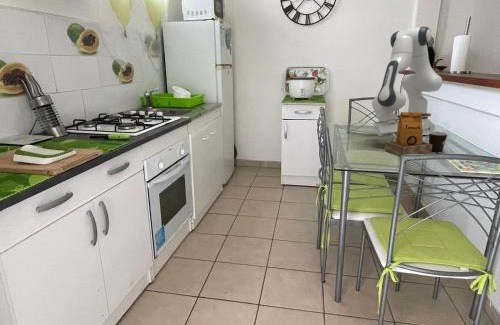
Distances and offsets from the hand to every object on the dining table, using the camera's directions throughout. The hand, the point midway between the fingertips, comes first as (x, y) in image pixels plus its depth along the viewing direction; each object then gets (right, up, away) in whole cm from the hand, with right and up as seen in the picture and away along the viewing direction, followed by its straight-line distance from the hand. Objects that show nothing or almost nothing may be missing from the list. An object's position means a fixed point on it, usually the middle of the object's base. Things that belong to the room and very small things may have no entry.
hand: (398, 140), depth 186 cm
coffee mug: (+19, -6, -6) cm, 21 cm away
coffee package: (+2, -7, -6) cm, 9 cm away
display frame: (+2, -7, -6) cm, 9 cm away
